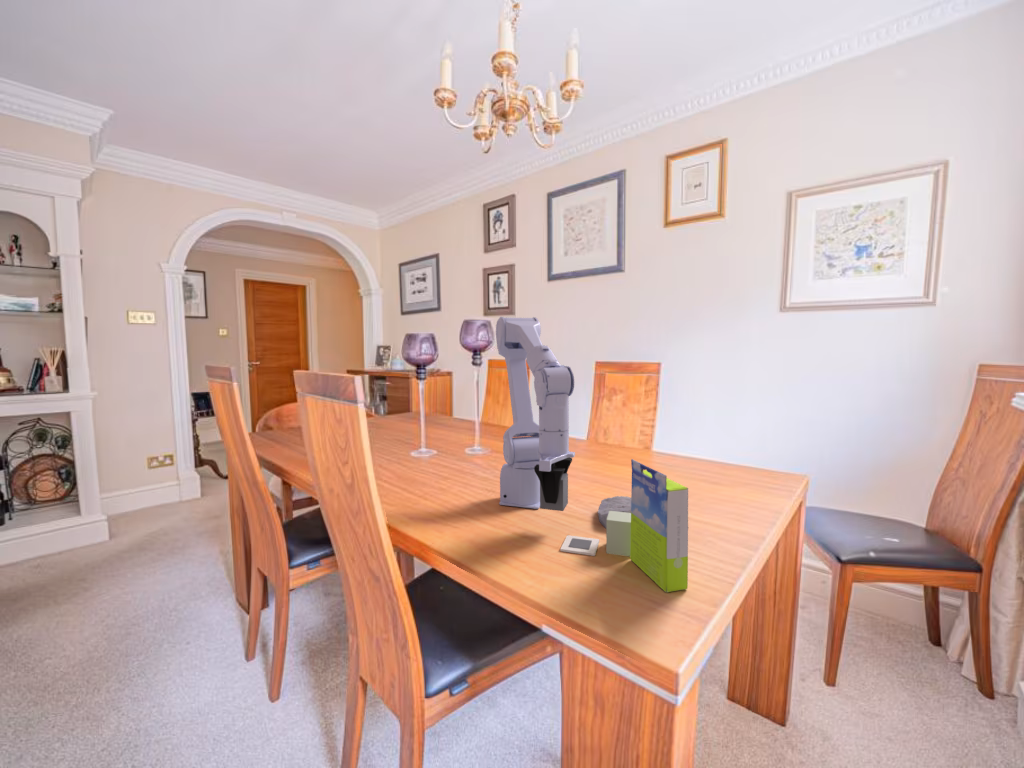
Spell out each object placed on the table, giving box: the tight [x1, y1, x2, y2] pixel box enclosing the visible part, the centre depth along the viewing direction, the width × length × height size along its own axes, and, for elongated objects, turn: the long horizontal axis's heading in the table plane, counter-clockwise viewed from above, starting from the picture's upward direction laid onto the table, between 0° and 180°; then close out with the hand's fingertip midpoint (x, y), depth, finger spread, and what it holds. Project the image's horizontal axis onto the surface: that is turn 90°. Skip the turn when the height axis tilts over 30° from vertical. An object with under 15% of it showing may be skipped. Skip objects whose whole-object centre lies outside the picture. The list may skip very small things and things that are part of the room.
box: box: [629, 458, 689, 593], centre depth 66 cm, size 10×4×17 cm, turn 13°
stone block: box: [597, 495, 631, 529], centre depth 88 cm, size 12×5×10 cm
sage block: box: [605, 511, 631, 557], centre depth 75 cm, size 4×4×6 cm
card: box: [559, 534, 600, 557], centre depth 76 cm, size 6×6×1 cm
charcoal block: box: [539, 472, 569, 512], centre depth 82 cm, size 4×4×6 cm
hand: (554, 498), depth 82 cm, fingers closed on charcoal block, 4 cm apart
